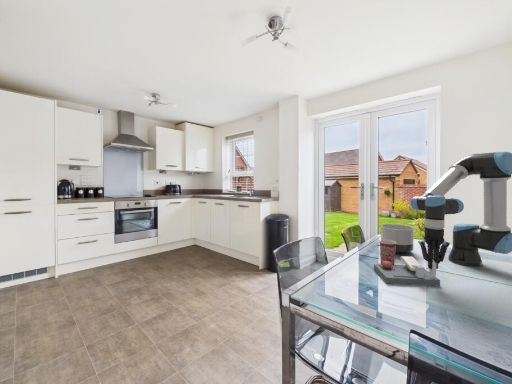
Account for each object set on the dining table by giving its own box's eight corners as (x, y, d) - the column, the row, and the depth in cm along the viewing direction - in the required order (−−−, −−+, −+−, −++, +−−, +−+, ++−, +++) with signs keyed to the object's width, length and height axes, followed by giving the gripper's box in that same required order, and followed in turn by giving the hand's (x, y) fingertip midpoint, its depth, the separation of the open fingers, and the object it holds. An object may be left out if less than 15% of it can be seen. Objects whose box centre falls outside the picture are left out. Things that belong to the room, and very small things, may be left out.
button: (389, 265, 129) (389, 261, 129) (392, 268, 125) (393, 264, 124) (381, 265, 130) (381, 260, 129) (384, 268, 125) (384, 263, 125)
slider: (421, 275, 116) (421, 265, 115) (424, 278, 113) (424, 268, 113) (415, 275, 116) (415, 265, 116) (418, 277, 113) (418, 267, 113)
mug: (392, 267, 134) (393, 244, 134) (376, 263, 141) (376, 241, 141) (400, 262, 143) (401, 240, 142) (385, 258, 149) (385, 237, 149)
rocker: (412, 259, 129) (412, 256, 129) (423, 271, 118) (424, 268, 118) (400, 258, 130) (400, 255, 130) (411, 270, 119) (411, 267, 119)
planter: (419, 256, 152) (420, 229, 151) (390, 256, 153) (390, 230, 151) (401, 247, 172) (402, 223, 170) (375, 247, 172) (376, 224, 171)
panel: (419, 270, 129) (420, 262, 129) (440, 286, 112) (440, 275, 111) (374, 269, 133) (374, 260, 133) (386, 283, 115) (386, 273, 115)
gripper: (444, 226, 115) (442, 272, 116) (415, 225, 117) (414, 271, 118) (454, 229, 107) (452, 279, 109) (423, 229, 109) (422, 277, 111)
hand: (432, 275), depth 113 cm, fingers closed
